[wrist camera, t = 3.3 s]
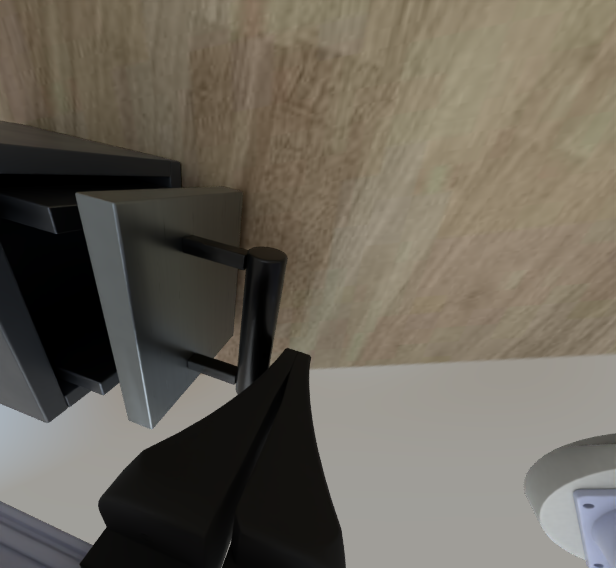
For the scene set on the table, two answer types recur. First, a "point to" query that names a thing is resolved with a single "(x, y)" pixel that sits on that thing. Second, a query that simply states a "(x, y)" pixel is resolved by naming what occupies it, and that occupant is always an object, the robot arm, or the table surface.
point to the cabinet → (3, 286)
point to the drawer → (139, 283)
